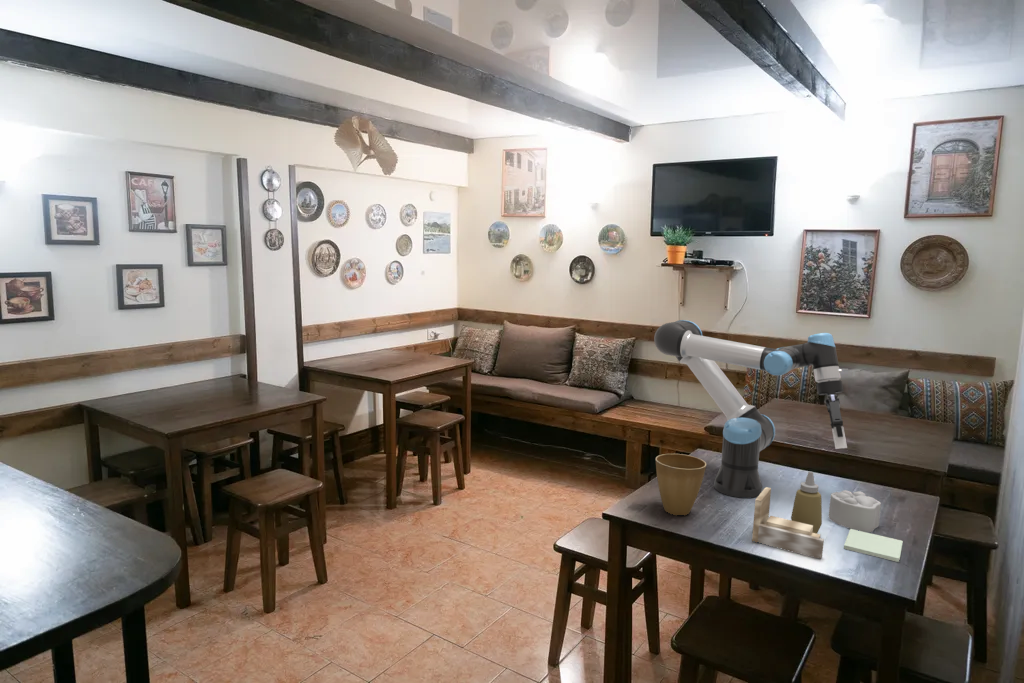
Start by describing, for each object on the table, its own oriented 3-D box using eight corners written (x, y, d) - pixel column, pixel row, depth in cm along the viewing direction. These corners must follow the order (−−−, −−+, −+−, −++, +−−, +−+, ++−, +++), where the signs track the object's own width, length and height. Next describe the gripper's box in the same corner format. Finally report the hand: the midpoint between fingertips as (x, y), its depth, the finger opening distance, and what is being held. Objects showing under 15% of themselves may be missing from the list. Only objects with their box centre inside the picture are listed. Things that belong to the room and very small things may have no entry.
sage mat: (843, 548, 178) (844, 545, 177) (850, 532, 188) (850, 528, 188) (899, 562, 171) (899, 558, 170) (902, 544, 181) (902, 540, 181)
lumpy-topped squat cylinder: (869, 534, 187) (872, 505, 186) (822, 520, 197) (825, 492, 195) (881, 524, 195) (884, 496, 193) (835, 511, 204) (838, 484, 203)
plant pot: (694, 525, 190) (698, 472, 188) (645, 513, 198) (648, 462, 196) (708, 508, 203) (712, 458, 201) (662, 498, 211) (665, 450, 208)
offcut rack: (751, 541, 181) (755, 499, 179) (762, 526, 191) (765, 487, 189) (821, 559, 171) (825, 515, 169) (828, 542, 181) (832, 501, 179)
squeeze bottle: (814, 527, 191) (820, 468, 188) (825, 540, 183) (831, 478, 180) (786, 526, 191) (791, 466, 189) (795, 538, 183) (800, 476, 181)
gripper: (843, 375, 197) (857, 446, 193) (839, 383, 220) (851, 447, 215) (816, 378, 200) (829, 449, 196) (815, 386, 222) (826, 449, 218)
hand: (841, 448), depth 205 cm, fingers open, 13 cm apart
